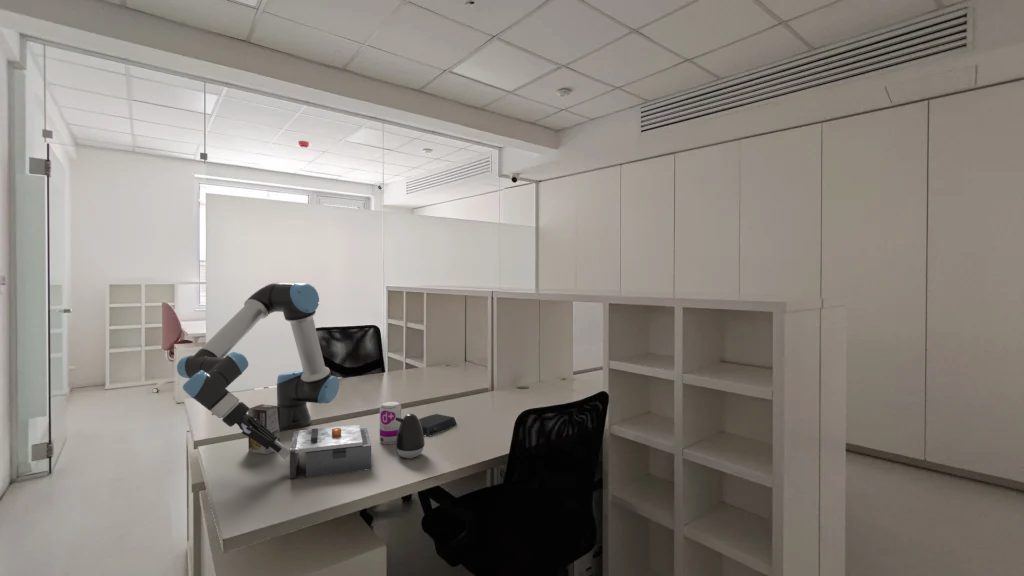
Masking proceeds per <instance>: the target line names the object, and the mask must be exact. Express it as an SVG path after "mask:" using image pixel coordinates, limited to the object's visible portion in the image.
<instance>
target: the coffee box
mask: <svg viewBox="0 0 1024 576" xmlns="http://www.w3.org/2000/svg"><path fill="white" fill-rule="evenodd" d="M247 414H248V415H249V416H252V417H254V416H255V417H256V418H257V419H258V420H259V421H260V422H261V423H262V424H263V425H264V426H265V427H266V428H267V429H268V430H269V431H270V432H271V433H272V434H274V435H275V437H276V436H277V437H278V438H277V439H276V440H277V441H279V442H280V443H281V434H280V433H281V429H280V406H277V405H272V404H270V405H269V404H258V405H256V406H252V407H249V410H248V412H247ZM247 437H248V436H247ZM248 452H249V453H256V454H263V455H268V454H271V453H275V452H274V451H273V450H272V449H270V448H268V449H266V448H265V447H264V446H262V445H260V444H259V443H257V442H256V441H254V440H253V439H251V438H250V437H248Z"/></svg>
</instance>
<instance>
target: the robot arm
mask: <svg viewBox="0 0 1024 576" xmlns="http://www.w3.org/2000/svg"><path fill="white" fill-rule="evenodd" d="M243 303H244V304H243V305H244V306H243V307H242V308H240V310H239V311H238V312H237V313H236V314H235V315H233V317H232V318H231V319H230V320H229V321H227V322H226V324H225V325H224V326H222V327H221V328H220V329H219V330H218V331H217V332H216V333H215V334H214V335H213V336H212V337H211V338H210V339H209V340H208V341H207V342H206V343H205V344H203V346H202V347H201V348H199V350H198V351H197V352H195V354H193V355H186V356H184V357H182V358H180V360H179V361H178V363H177V365H176V371H177V373H178V375H179V376H180V377H182V378H183V379H188V380H187V381H186V382H185V383H183V385H182V390H183V391H184V392H185V393H186V394H187V395H188V396H189V397H190V398H191V399H194V400H195V401H196V402H197V403H199V404H200V405H202V406H203V407H204V408H205V409H206V410H208V411H210V413H211V414H210V415H211V416H216V417H217V418H218V419H221V418H222V419H221V421H222V422H223V423H225V425H227V426H228V427H233V426H234V425H237V426H238V427H239V430H241V431H242V432H241V434H243V435H244V436H245V437H250V438H251V439H253V440H254V441H256V442H257V443H259V444H260V445H262V446H264V447H265V448H266V449H268V448H270V449H272V450H273V451H274V452H273V453H276V454H277V455H278V456H279V457H281V458H282V459H283V460H286V459H287V457H290V449H289V448H287V447H286V446H285V445H284V444H282V443H281V441H280V442H279V441H277V440H276V439H277V438H278V437H277V436H276V437H275V435H274V434H272V433H271V432H270V431H269V430H268V429H267V428H266V427H265V426H264V425H263V424H262V423H261V422H260V421H259V420H258V419H257V418H256V417H255V416H254V417H252V416H249V415H248V410H249V408H250V407H249V406H248V405H247V404H246V403H244V402H243V401H240V399H239V398H238V397H237V396H235V394H233V393H231V392H230V391H229V390H228V387H229V386H230V385H231V384H232V383H233V382H235V380H237V378H239V377H240V376H241V375H243V373H244V372H245V371H246V370H247V369H248V367H249V360H248V359H247V358H246V356H245V355H243V354H242V353H241V352H237V351H232V350H233V348H234V347H236V345H237V344H238V343H239V342H240V341H241V340H242V339H243V338H244V337H245V336H246V335H247V334H248V333H249V332H250V331H251V330H252V328H254V327H255V325H256V324H257V323H258V322H260V321H261V320H262V319H266V318H267V317H268V316H269V315H270V314H272V313H275V312H276V313H277V312H278V313H280V312H281V313H283V317H284V320H286V321H288V322H289V323H290V327H291V330H292V334H293V337H294V338H293V339H294V341H295V345H296V350H297V353H298V356H299V361H300V364H301V367H302V369H299V370H298V369H297V370H291V371H286V372H283V373H280V374H278V376H277V382H276V406H280V430H294V429H295V430H296V429H301V428H303V427H306V426H308V425H310V424H311V422H312V419H311V414H310V412H309V408H308V406H307V403H312V404H313V403H315V404H329V403H332V402H333V401H334V399H335V398H336V397H337V395H338V392H339V390H340V380H339V378H338V377H337V376H335V375H332V374H331V373H332V372H331V370H330V368H329V367H328V366H326V364H325V361H324V357H323V352H322V348H321V345H320V340H319V337H318V331H317V329H316V325H315V320H314V316H315V315H316V310H317V309H318V308H319V305H320V304H319V303H320V297H319V293H318V291H317V289H316V288H315V286H313V285H311V284H310V283H306V282H305V283H304V282H273V283H269V284H267V285H265V286H263V287H261V288H260V289H258V290H256V291H255V292H254V293H253V294H251V295H250V297H248V298H247V299H246V300H245V301H244V302H243Z"/></svg>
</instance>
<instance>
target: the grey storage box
mask: <svg viewBox="0 0 1024 576" xmlns="http://www.w3.org/2000/svg"><path fill="white" fill-rule="evenodd" d="M368 431H369V430H368V428H367V427H360V432H361V437H362V442H363V446H354V447H346V448H337V449H328V450H320V451H311V452H305V478H315V477H321V476H322V477H323V476H330V474H331V475H338V473H339V474H345V473H352V471H354V472H359V471H358V470H361V471H366V470H365V469H369V470H372V443H371V438H370V435H369V432H368Z"/></svg>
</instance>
